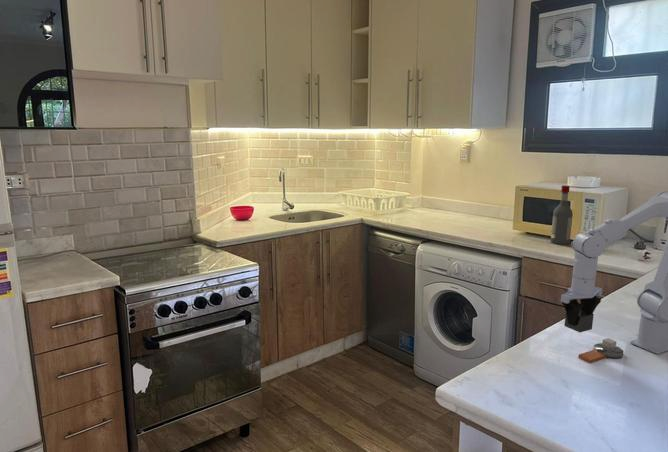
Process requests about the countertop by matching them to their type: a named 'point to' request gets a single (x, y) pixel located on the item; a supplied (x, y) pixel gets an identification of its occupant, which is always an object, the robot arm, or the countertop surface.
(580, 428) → the countertop surface
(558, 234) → the liquor
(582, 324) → the dark grey cube
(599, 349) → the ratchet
